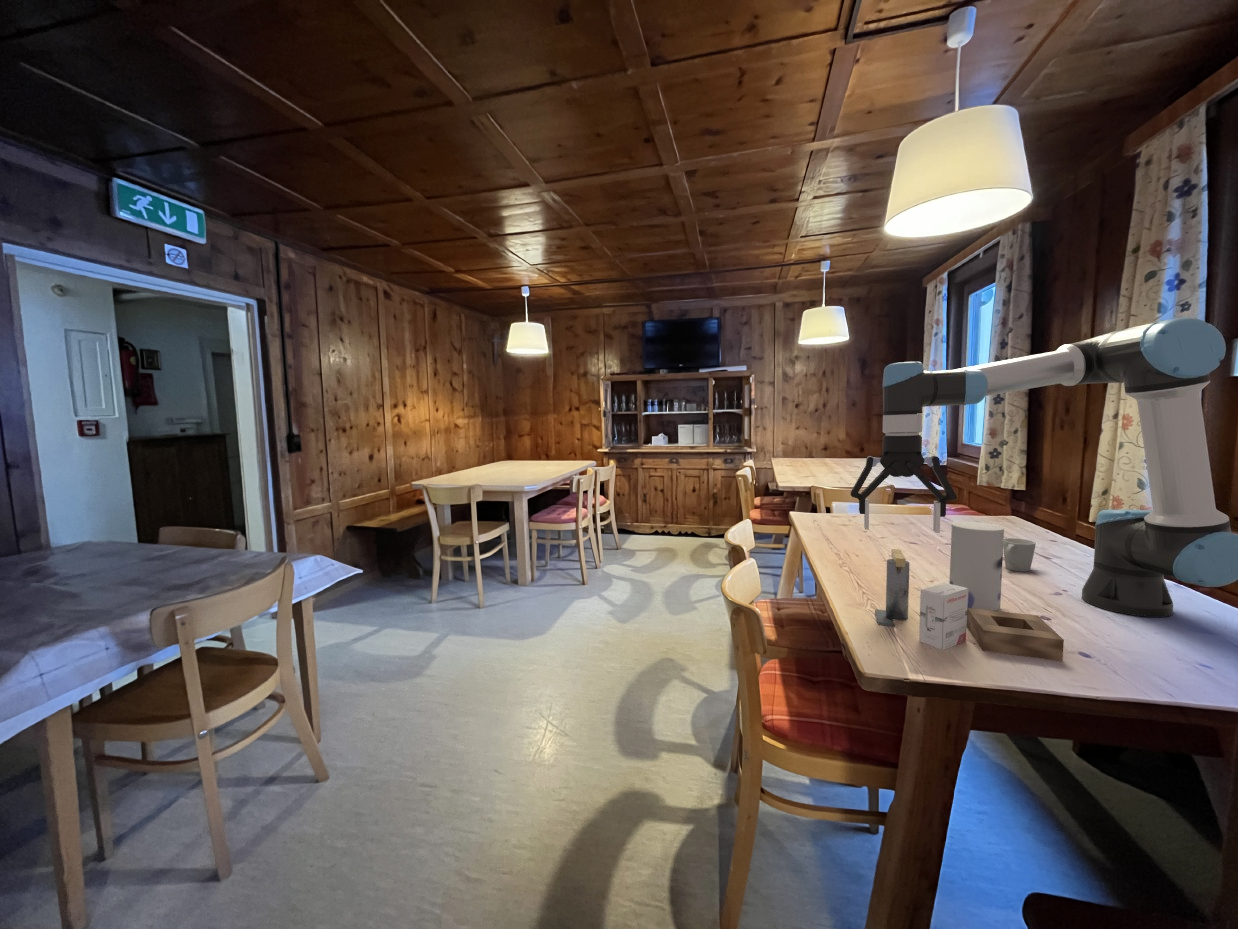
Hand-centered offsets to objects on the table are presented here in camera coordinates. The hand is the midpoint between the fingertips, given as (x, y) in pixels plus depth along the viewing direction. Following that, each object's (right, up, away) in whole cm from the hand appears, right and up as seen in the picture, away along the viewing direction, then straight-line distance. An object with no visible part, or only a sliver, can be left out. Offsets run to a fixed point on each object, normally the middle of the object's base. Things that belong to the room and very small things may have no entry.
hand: (900, 530), depth 109 cm
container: (+22, -20, +9) cm, 31 cm away
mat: (0, -21, +2) cm, 21 cm away
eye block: (+15, -22, -12) cm, 29 cm away
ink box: (+2, -22, -10) cm, 24 cm away
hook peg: (0, -20, +2) cm, 20 cm away
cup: (+55, -17, +36) cm, 68 cm away
